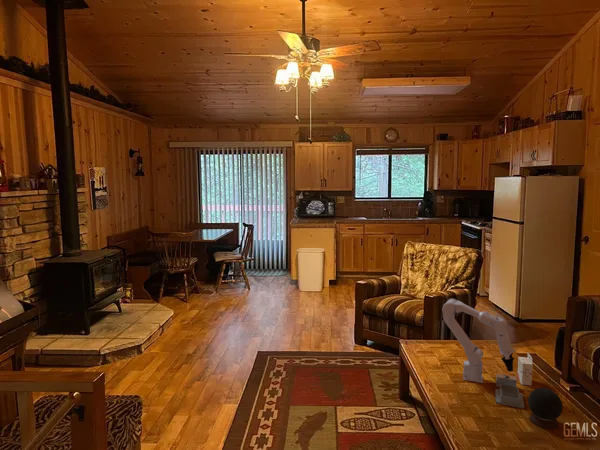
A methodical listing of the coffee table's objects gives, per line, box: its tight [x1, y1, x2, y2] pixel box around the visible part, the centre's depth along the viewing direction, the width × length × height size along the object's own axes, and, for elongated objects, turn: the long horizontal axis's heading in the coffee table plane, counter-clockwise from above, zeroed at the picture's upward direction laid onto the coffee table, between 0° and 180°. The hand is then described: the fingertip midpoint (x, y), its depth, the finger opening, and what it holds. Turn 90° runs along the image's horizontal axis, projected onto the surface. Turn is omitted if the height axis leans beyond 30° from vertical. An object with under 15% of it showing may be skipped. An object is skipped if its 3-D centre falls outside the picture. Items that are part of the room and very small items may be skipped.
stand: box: [494, 384, 525, 409], centre depth 205 cm, size 12×13×4 cm
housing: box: [495, 373, 518, 388], centre depth 217 cm, size 9×4×6 cm, turn 66°
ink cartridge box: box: [516, 352, 534, 386], centre depth 222 cm, size 9×5×15 cm, turn 168°
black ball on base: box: [527, 387, 564, 431], centre depth 186 cm, size 13×13×15 cm
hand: (510, 368), depth 216 cm, fingers open, 7 cm apart
